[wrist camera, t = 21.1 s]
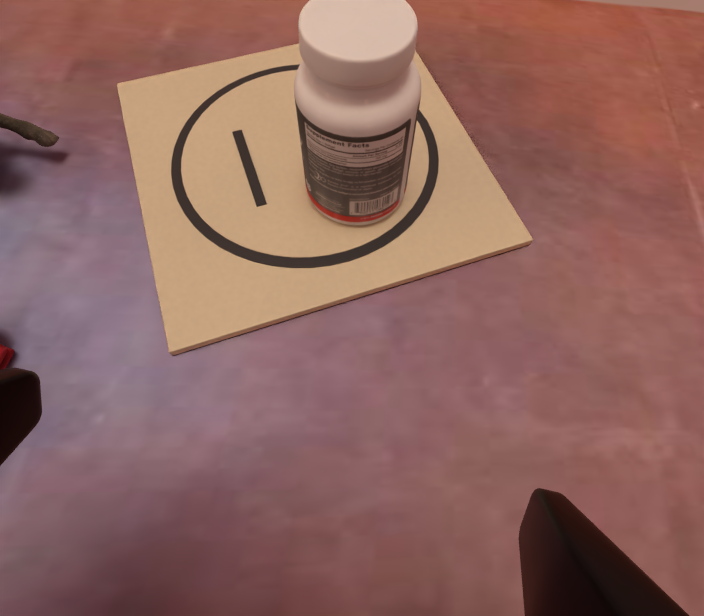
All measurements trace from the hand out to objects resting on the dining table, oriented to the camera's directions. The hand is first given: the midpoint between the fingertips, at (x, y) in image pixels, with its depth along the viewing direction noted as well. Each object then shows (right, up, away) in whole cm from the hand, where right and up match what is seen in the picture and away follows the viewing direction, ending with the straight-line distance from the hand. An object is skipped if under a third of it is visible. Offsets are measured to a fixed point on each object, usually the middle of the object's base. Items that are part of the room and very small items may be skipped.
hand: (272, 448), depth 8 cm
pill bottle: (+2, +9, +19) cm, 21 cm away
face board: (-1, +11, +21) cm, 24 cm away
